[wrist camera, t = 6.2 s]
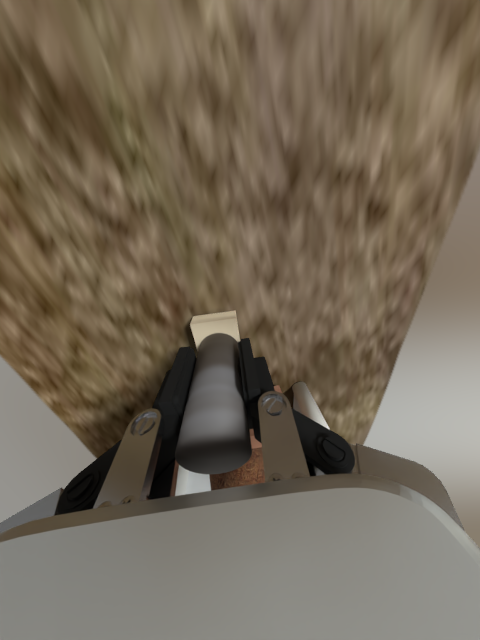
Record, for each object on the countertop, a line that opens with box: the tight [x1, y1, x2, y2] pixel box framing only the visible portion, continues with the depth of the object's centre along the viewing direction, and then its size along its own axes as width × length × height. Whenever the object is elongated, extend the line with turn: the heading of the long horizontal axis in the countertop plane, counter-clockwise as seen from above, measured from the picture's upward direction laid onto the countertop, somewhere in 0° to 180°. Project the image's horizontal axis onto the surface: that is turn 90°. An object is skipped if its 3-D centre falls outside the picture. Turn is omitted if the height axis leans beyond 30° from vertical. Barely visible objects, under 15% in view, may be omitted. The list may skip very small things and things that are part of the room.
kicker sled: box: [175, 311, 282, 474], centre depth 11 cm, size 10×9×8 cm
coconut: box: [209, 447, 265, 491], centre depth 14 cm, size 5×5×8 cm
